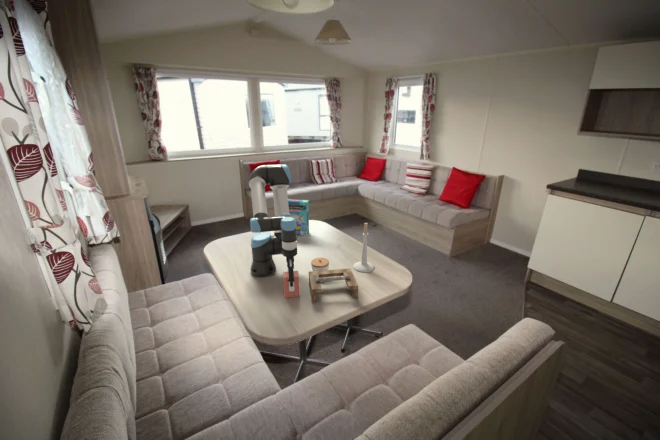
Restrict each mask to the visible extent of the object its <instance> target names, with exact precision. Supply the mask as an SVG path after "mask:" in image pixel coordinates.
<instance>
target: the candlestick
mask: <svg viewBox="0 0 660 440" xmlns="http://www.w3.org/2000/svg"><path fill="white" fill-rule="evenodd" d="M368 224H369V223H368V222H364V223H363V226H364V227H363V233H362V237H363V243H362V250H361V260H360V261H357V262H355V263H354V264H353V269H354V270H355V271H356V272H360V273H370V272H373V271H374V270H373V269H375V265H374V264H373V263H371V262H370V261H368V245H367V244H368V238H367V237H368V235H369V232H368Z"/></svg>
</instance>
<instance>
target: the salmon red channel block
mask: <svg viewBox="0 0 660 440" xmlns="http://www.w3.org/2000/svg"><path fill="white" fill-rule="evenodd" d="M293 272H294V291H289V281H287V280H289V271H288V270H287V271H283V272H282V279H283V294H284V295H283V297H284V298H292V297H293V298H294V297H300V275H299V270H293Z"/></svg>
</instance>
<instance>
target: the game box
mask: <svg viewBox="0 0 660 440" xmlns="http://www.w3.org/2000/svg"><path fill="white" fill-rule="evenodd" d="M309 202H310V200H309V199H291V198H288V206H289V215H290V216H291V217H293V218H295V219H296V224H297V226H296V235H298V236H308V235H309V234H310V219H309V218H310V211H309V210H310V208H309V207H310V205H309V204H310V203H309Z"/></svg>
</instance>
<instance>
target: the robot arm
mask: <svg viewBox="0 0 660 440" xmlns="http://www.w3.org/2000/svg"><path fill="white" fill-rule="evenodd" d="M290 184H292V174H291V171H290V167H289V166H288V165H287V164H281V163H278V164H262V165H259V166H257V167H256V168H254V169H252V171H251V173H250V175H249V177H248V187H249V188H250V191H251V205H252V215H253V217H252V218H250V219H249V224H250V225H249V226H250V232H251V233H253V234H254V233H258V234H255V235H254V236H252V237H251V239H250V247H251V257H252V261H251V265H250V274H251V275H252V276H254V277H258V278H263V277H269V276H272V275H273V274H275V273H276V272H277V266H276V264H275V261H274V258H273V256H276V255H282V256H283V257H285V258H286V266H287V271H289V280H287V281H289V291H294V272H293V271H294V269H295V257H296V256H297V255H298V243H299V241H298V240H297V238H298V237H297V235H296V226H297V224H296V219H295V218H293V217H291V216H290V215H289V206H288V199H289V197H288V188H289V187H290ZM267 185H269V188H270V189H271V190H272V197H273V206H274V216H269V215H268V206H267V197H266V189H265V187H266V186H267ZM269 232H273V235H271V233H269Z"/></svg>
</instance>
